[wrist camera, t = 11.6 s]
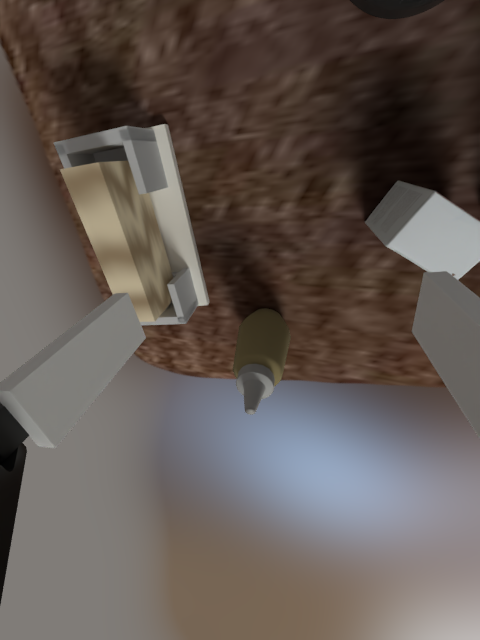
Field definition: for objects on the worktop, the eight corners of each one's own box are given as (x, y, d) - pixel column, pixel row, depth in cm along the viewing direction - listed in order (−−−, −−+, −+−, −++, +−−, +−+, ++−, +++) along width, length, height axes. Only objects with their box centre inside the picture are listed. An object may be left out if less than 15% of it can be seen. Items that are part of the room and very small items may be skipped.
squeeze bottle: (233, 310, 44) (201, 392, 29) (279, 294, 41) (269, 376, 26) (254, 347, 48) (234, 438, 33) (298, 335, 45) (298, 429, 30)
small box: (451, 214, 32) (510, 239, 23) (413, 254, 35) (451, 288, 26) (397, 178, 31) (436, 188, 22) (362, 221, 34) (385, 246, 25)
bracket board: (83, 143, 35) (40, 142, 29) (167, 124, 32) (139, 118, 26) (144, 305, 47) (122, 327, 41) (209, 302, 44) (196, 325, 38)
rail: (107, 165, 33) (59, 169, 27) (139, 159, 32) (98, 162, 26) (151, 295, 43) (124, 322, 36) (178, 294, 42) (155, 321, 35)
